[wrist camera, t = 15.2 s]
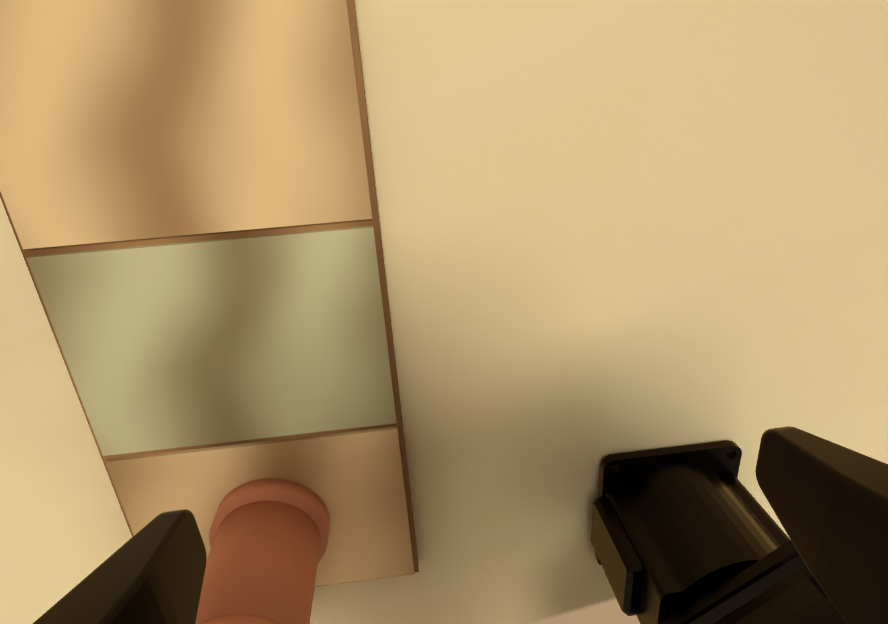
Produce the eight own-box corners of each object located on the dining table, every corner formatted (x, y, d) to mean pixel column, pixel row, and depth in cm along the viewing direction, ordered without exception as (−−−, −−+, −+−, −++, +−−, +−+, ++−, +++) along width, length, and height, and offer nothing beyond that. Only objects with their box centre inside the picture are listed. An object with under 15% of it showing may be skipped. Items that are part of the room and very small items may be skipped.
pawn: (321, 471, 23) (290, 663, 16) (337, 556, 25) (316, 762, 18) (203, 485, 23) (115, 687, 15) (229, 569, 25) (162, 785, 17)
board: (346, -63, 16) (345, -69, 16) (418, 561, 27) (418, 575, 26) (-77, -40, 16) (-100, -46, 15) (164, 594, 26) (157, 609, 25)
